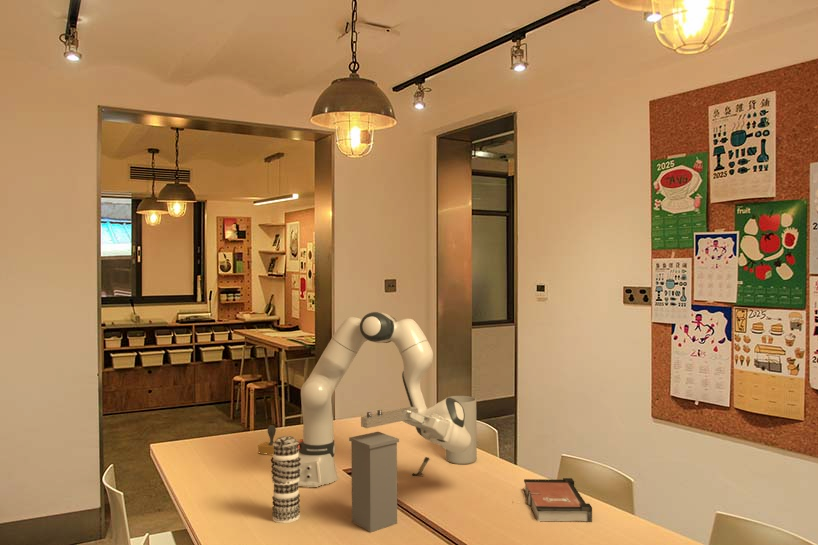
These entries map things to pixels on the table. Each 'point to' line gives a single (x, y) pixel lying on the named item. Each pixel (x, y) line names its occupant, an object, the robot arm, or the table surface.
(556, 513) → the book
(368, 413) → the brown wooden bar
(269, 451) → the rubber stamp
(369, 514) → the pedestal
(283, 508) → the decorative candle
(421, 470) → the tomahawk
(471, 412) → the cylinder vase
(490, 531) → the table surface
